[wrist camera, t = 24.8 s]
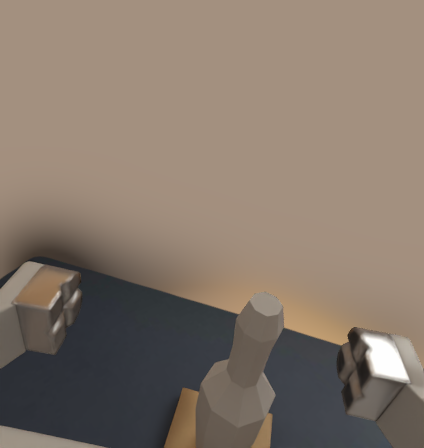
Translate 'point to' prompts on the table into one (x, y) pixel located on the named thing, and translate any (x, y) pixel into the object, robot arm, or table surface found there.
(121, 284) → the table surface
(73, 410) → the table surface
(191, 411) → the coaster
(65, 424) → the table surface
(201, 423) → the low poly bottle
